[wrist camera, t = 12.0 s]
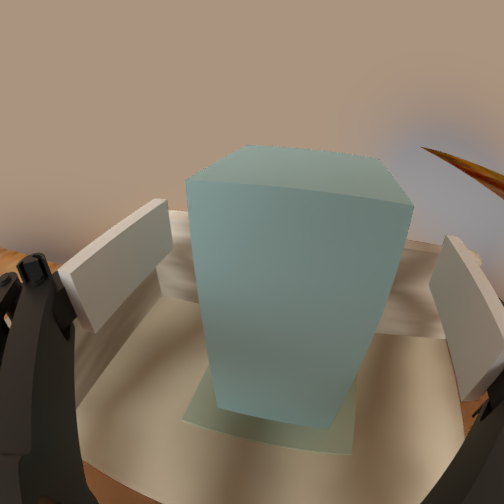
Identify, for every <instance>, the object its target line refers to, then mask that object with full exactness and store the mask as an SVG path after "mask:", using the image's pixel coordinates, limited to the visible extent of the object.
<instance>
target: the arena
mask: <svg viewBox="0 0 504 504" xmlns="http://www.w3.org/2000/svg"><path fill="white" fill-rule="evenodd" d="M168 211H169V218H170V226H171V233H172V240H173V247H174V249H173V250H172V251H171V252H170V253H169V254H168V255H167V256H166V257H165V258H164V259H163V260H162V261H161V262H160V263H159V264H158V265H157V266H156V267H155V269H154V270H153V271H152V272H151V273H150V274H149V275H148V276H147V277H146V278H145V279H144V280H143V281H142V282H141V283H140V285H139V286H138V287H137V288H136V289H135V290H134V291H133V292H132V293H131V294H130V295H129V297H128V298H127V299H126V300H125V301H124V302H123V303H122V304H121V305H120V307H119V308H118V309H117V310H116V311H115V312H114V313H113V314H112V316H111V317H110V318H109V319H108V320H107V321H106V322H105V324H104V325H103V326H102V327H101V328H100V329H99V331H98V332H97V333H96V334H95V333H92V332H90V331H88V330H86V329H83V328H82V326H81V324H80V322H79V320H78V318H77V317H76V319H75V320H74V321H73V323H74V325H75V351H74V381H75V404H76V417H77V428H78V436H79V444H80V451H81V458H82V460H84V461H85V462H87V463H88V464H90V465H91V466H93V467H94V468H96V469H98V470H99V471H101V472H102V473H104V474H106V475H107V476H109V477H111V478H113V479H114V480H116V481H118V482H120V483H122V484H123V485H125V486H127V487H129V488H131V489H133V490H135V491H137V492H139V493H141V494H143V495H145V496H147V497H149V498H151V499H154V500H156V501H158V502H160V503H163V504H420V503H421V502H422V501H423V500H424V498H425V497H426V496H427V495H428V493H429V492H430V491H431V490H432V488H433V487H434V486H435V484H436V483H437V482H438V480H439V479H440V477H441V476H442V475H443V473H444V472H445V470H446V469H447V467H448V466H449V464H450V463H451V461H452V460H453V458H454V457H455V455H456V454H457V452H458V450H459V449H460V447H461V445H462V444H463V442H464V440H465V435H464V427H463V419H462V413H461V406H460V401H459V395H458V390H457V385H456V380H455V376H454V371H453V367H452V363H451V359H450V355H449V351H448V347H447V343H446V340H445V338H446V336H445V333H444V329H443V326H442V323H441V320H440V317H439V314H438V311H437V308H436V305H435V302H434V299H433V296H432V293H431V291H430V288H429V282H430V280H431V277H432V274H433V272H434V269H435V266H436V263H437V260H438V257H439V255H440V251H441V248H442V246H441V245H435V244H429V243H424V242H418V241H412V240H406V241H405V245H404V249H403V252H402V256H401V259H400V262H399V266H398V269H397V272H396V275H395V279H394V282H393V285H392V288H391V291H390V294H389V297H388V299H387V302H386V305H385V308H384V311H383V313H382V316H381V319H380V321H379V324H378V326H377V329H376V331H375V334H374V336H373V339H372V341H371V343H370V346H369V348H368V350H367V353H366V355H365V357H364V360H363V362H362V364H361V366H360V368H359V370H358V373H357V375H356V377H355V379H354V381H353V383H352V385H351V387H350V389H349V391H348V393H347V395H346V397H345V399H344V401H343V403H342V405H341V407H340V408H339V410H338V412H337V414H336V416H335V418H334V419H333V421H332V423H331V425H330V426H329V428H328V429H325V428H317V427H309V426H302V425H296V424H290V423H284V422H279V421H273V420H268V419H263V418H259V417H254V416H250V415H245V414H241V413H237V412H233V411H229V410H225V409H222V408H218V406H217V401H216V396H215V391H214V386H213V381H212V376H211V370H210V365H209V359H208V354H207V348H206V342H205V336H204V330H203V324H202V318H201V311H200V305H199V298H198V291H197V284H196V276H195V269H194V261H193V253H192V244H191V235H190V226H189V216H188V212H183V211H173V210H168ZM469 252H470V253H471V255H472V256H473V257H474V259H475V260H476V262H477V263H478V265H479V266H480V267H481V265H482V262H483V261H482V259H481V258H480V256H479V255H478V254H477V252H474V251H469ZM5 322H6V324H7V325H8V327H9V328H10V327H11V323H12V322H11V321H10V319H9V317H7V318H6V319H5Z"/></svg>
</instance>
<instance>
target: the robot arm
mask: <svg viewBox="0 0 504 504" xmlns="http://www.w3.org/2000/svg"><path fill="white" fill-rule="evenodd" d="M173 249H174V247H173V240H172V233H171V226H170V218H169V211H168V203H167V199H153V200H152V201H150V202H149V203H147V204H145V205H144V206H142V207H141V208H139V209H138V210H136V211H135V212H134V213H132V214H131V215H129V216H128V217H126V218H125V219H123V220H122V221H121V222H119V223H118V224H116V225H115V226H113V227H112V228H111V229H109V230H108V231H107V232H105V233H104V234H102V235H101V236H100V237H98V238H97V239H96V240H94V241H93V242H92V243H90V244H89V245H88V246H86V247H85V248H84V249H82V250H81V251H80V252H79V253H77V254H76V255H75V256H74V257H72V258H71V259H70V260H69V261H67V262H66V263H65V264H64V265H62V266H61V267H60V268H59V269H57V271H56V272H54V273H53V274H51V271H50V269H49V266H48V264H47V261H46V258H45V255H44V254H42V253H34V254H31V255H29V256H27V257H25V258H24V259H22V260H21V261H20V262H19V263H18V264H17V269H18V271H19V274H20V276H21V278H22V281H23V283H20V280H19V278H18V276H17V274H16V273H15V272H10V273H5V274H3V275H2V276H1V277H0V504H98V502H97V500H96V498H95V496H94V495H93V494H92V492H91V491H90V490H89V488H88V486H87V483H86V479H85V474H84V469H83V464H82V458H81V451H80V444H79V436H78V428H77V417H76V404H75V381H74V351H75V325H74V323H73V321H74V320H75V319H76V317H77V318H78V320H79V322H80V324H81V326H82V328H83V329H86V330H88V331H90V332H92V333H95V334H96V333H97V332H98V331H99V329H100V328H101V327H102V326H103V325H104V324H105V322H106V321H107V320H108V319H109V318H110V317H111V316H112V314H113V313H114V312H115V311H116V310H117V309H118V308H119V307H120V305H121V304H122V303H123V302H124V301H125V300H126V299H127V298H128V297H129V295H130V294H131V293H132V292H133V291H134V290H135V289H136V288H137V287H138V286H139V285H140V283H141V282H142V281H143V280H144V279H145V278H146V277H147V276H148V275H149V274H150V273H151V272H152V271H153V270H154V269H155V267H156V266H157V265H158V264H159V263H160V262H161V261H162V260H163V259H164V258H165V257H166V256H167V255H168V254H169V253H170V252H171V251H172V250H173ZM429 288H430V291H431V293H432V296H433V299H434V302H435V305H436V308H437V311H438V314H439V317H440V320H441V323H442V326H443V329H444V333H445V336H446V339H447V343H448V346H449V350H450V354H451V358H452V362H453V366H454V370H455V374H456V379H457V383H458V388H459V393H460V398H461V402H467V401H477V400H478V399H479V398H480V397H481V396H482V395H483V394H484V393H485V392H486V391H487V392H488V396H489V398H488V399H487V400H486V401H485V402H484V403H483V404H482V406H481V407H480V408H479V409H478V410H477V411H476V412H474V414H473V415H472V417H473V418H474V417H475V416H476V415H477V414H478V416H477V418H476V420H475V422H474V424H473V426H472V428H471V430H470V431H469V433H468V435H467V437H466V439H465V440H464V442H463V444H462V445H461V447H460V449H459V450H458V452H457V454H456V455H455V457H454V458H453V460H452V461H451V463H450V464H449V466H448V467H447V469H446V470H445V472H444V473H443V475H442V476H441V477H440V479H439V480H438V482H437V483H436V484H435V486H434V487H433V488H432V490H431V491H430V492H429V493H428V495H427V496H426V497H425V498H424V500H423V501H422V502H421V503H420V504H504V302H503V301H502V300H501V299H500V298H499V297H498V296H497V294H496V292H495V291H494V289H493V287H492V286H491V284H490V282H489V281H488V279H487V277H486V276H485V274H484V273H483V271H482V270H481V268H480V266H479V265H478V263H477V262H476V260H475V259H474V257H473V256H472V255H471V253H470V252H469V250H468V249H467V247H466V246H465V245H464V243H463V242H462V240H461V239H460V238H459V237H455V236H451V235H446V236H445V239H444V242H443V245H442V248H441V251H440V255H439V257H438V260H437V263H436V266H435V269H434V272H433V274H432V277H431V280H430V282H429ZM5 314H7V315H8V317H9V319H10V321H11V322H12V323H11V327H10V328H9V327H8V325H7V324H6V322H5V320H4V316H5Z"/></svg>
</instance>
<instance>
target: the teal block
mask: <svg viewBox="0 0 504 504" xmlns="http://www.w3.org/2000/svg"><path fill="white" fill-rule="evenodd" d="M185 183H186V195H187V206H188V216H189V226H190V235H191V244H192V253H193V261H194V269H195V276H196V284H197V291H198V298H199V305H200V311H201V318H202V324H203V330H204V336H205V342H206V348H207V354H208V359H209V365H210V370H211V376H212V381H213V386H214V391H215V396H216V401H217V406H218V408H222V409H225V410H229V411H233V412H237V413H241V414H245V415H250V416H254V417H259V418H263V419H268V420H273V421H279V422H284V423H290V424H296V425H302V426H309V427H317V428H325V429H328V428H329V426H330V425H331V423H332V421H333V419H334V418H335V416H336V414H337V412H338V410H339V408H340V407H341V405H342V403H343V401H344V399H345V397H346V395H347V393H348V391H349V389H350V387H351V385H352V383H353V381H354V379H355V377H356V375H357V373H358V370H359V368H360V366H361V364H362V362H363V360H364V357H365V355H366V353H367V350H368V348H369V346H370V343H371V341H372V339H373V336H374V334H375V331H376V329H377V326H378V324H379V321H380V319H381V316H382V313H383V311H384V308H385V305H386V302H387V299H388V297H389V294H390V291H391V288H392V285H393V282H394V279H395V275H396V272H397V269H398V266H399V262H400V259H401V256H402V252H403V249H404V245H405V241H406V237H407V233H408V230H409V226H410V221H411V217H412V212H413V208H414V205H413V204H412V202H411V201H410V199H409V198H408V197H407V195H406V194H405V192H404V191H403V190H402V188H401V187H400V186H399V184H398V183H397V182H396V180H395V179H394V178H393V176H392V175H391V174H390V172H389V171H388V170H387V168H386V167H385V166H384V165H383V163H382V162H381V161H380V160H379V159H377V158H371V157H365V156H358V155H351V154H344V153H336V152H327V151H319V150H310V149H299V148H287V147H273V146H255V145H246V146H244V147H243V148H241V149H239V150H237V151H235V152H233V153H232V154H230V155H228V156H226V157H224V158H223V159H221V160H219V161H217V162H215V163H214V164H212V165H210V166H209V167H207V168H205V169H203V170H202V171H200V172H198V173H197V174H195V175H193V176H192V177H190V178H188V179H187V180H186V181H185Z"/></svg>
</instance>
